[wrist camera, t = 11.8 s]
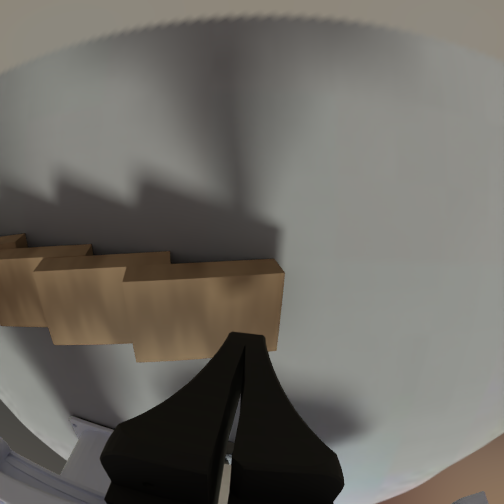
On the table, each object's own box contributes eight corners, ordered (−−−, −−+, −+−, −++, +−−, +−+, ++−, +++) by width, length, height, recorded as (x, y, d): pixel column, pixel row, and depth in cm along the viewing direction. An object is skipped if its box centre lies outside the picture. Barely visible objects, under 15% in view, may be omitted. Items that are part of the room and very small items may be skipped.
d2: (177, 340, 16) (53, 345, 14) (175, 323, 18) (60, 328, 16) (170, 264, 15) (32, 271, 13) (169, 251, 16) (42, 258, 14)
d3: (98, 326, 16) (0, 325, 15) (103, 311, 18) (9, 312, 16) (85, 255, 15) (-19, 260, 13) (91, 244, 16) (-8, 249, 15)
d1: (276, 350, 16) (136, 362, 14) (267, 332, 17) (138, 342, 16) (285, 272, 14) (122, 282, 13) (274, 258, 16) (126, 266, 14)
